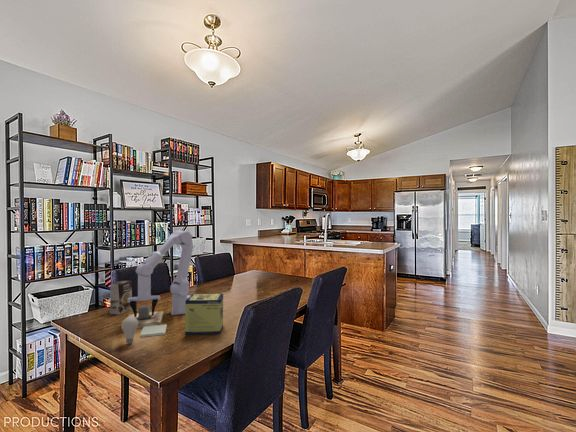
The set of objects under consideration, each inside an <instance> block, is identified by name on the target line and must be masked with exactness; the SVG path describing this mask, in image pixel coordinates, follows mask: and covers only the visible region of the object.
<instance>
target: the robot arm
mask: <svg viewBox="0 0 576 432" xmlns="http://www.w3.org/2000/svg"><path fill="white" fill-rule="evenodd" d="M193 243H194V242H193V235H192V233H191V232H190V231H188V230H179V229H177V230H174V231H173V232H172V233H171V234H170V235H169V237H168V238H167V239H166V241H164V243H163V244H162V245H160V247H159V248H158V250H157V251H153V252H150V253H149V256H148V257H147V258H146V259H145V260H143V261H142V263H140V264H138V265H137V267H136V269H135V273H136V274H137V296H132V297H131V298H128V303H130V306H131V308H132V310H131V311H133V314H134V317H136V316H137V313H138V310H137V305H138V302H149V301H151V312H152V316H153V315H154V312H155V309H156V307H157V304H158V301H161V295H152V293H151V292H152V291H151V289H152V279H151V278H152V277H151V276H152V275H151V274H153V273H154V269H155V268H156V266H158V264H159V263H161V261H162V260H163V256H164V255H165V254H166V253H167V252H168V251H169V250H170V249H171V248H173V246H175V245H179V246H180V247H181V253H180V258H179V262H178V268H177V272H176V277H175V278H174V279H173V280H172V283H171V285H170V286H169V290H170V293H171V294H172V295H171V297H172V298H171V301H172V305H171V306H172V309H171V314H170V315H171V316H175V315H185V303H186V299H188V298H189V296H190V295H191V294H189V292H190V282H189V280H188V274H189V271H190V270H189V268H190V265H191V260H192V259H191V258H192V254H193V250H194V244H193Z"/></svg>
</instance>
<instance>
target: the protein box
mask: <svg viewBox="0 0 576 432" xmlns="http://www.w3.org/2000/svg"><path fill="white" fill-rule="evenodd" d="M189 295H190V296H189V298H188V299H186V303H185V314H184V315H185V323H184V326H185V327H184V335H185V336H196V335H197V336H202V335H203V336H204V335H209V334H213V335H220V334H221V332H222V329H223V327H224V293H199V294H198V293H192V294H189Z"/></svg>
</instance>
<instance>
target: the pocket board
mask: <svg viewBox="0 0 576 432" xmlns="http://www.w3.org/2000/svg"><path fill="white" fill-rule="evenodd" d="M127 317H134V313H129V314H128V315H127ZM163 317H164V311H162V310H161V311H154V315H153V316H152V311H150V319H147V320H139V312H137V316H136V317H134V318H136V319H137V321H138V326H137V328H136V329H141V328H142V329H143V327H146V326H156V325H162V321H163Z"/></svg>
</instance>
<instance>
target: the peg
mask: <svg viewBox="0 0 576 432" xmlns="http://www.w3.org/2000/svg"><path fill="white" fill-rule="evenodd" d="M150 312H151V304H145V305H139V307H138V313H139V320H147V319H150Z"/></svg>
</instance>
